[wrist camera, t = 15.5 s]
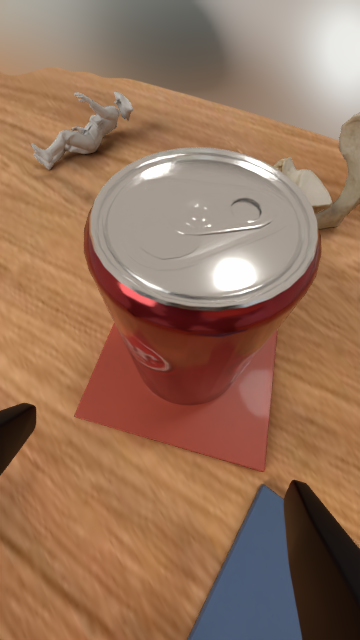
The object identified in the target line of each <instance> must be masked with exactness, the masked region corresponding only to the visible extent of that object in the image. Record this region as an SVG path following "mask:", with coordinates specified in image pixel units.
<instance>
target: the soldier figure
mask: <svg viewBox="0 0 360 640" xmlns="http://www.w3.org/2000/svg"><path fill="white" fill-rule="evenodd" d="M114 93H115V97H116V101H115V102H117V104H116V105H117V106H118V108H119V110H118V109H116V107H114V106H106V107H102V106H100V105H98V104H97V103H96V102H95V101H93V100H91V99H90V98H89V97H87V96H85V95H83V94H81V93H78V92H76V93H74V94H75V96H77V97H76V98H82V99H81V100H79V102H80V101H82V102H87V103H89V104H90V107H91V108H92V109H93V110H94V111H95V112H96V113H97V114H96V115H95V116H94V115H92V116H91V117H90V119H89V121H90V122H89V123H88V124H87V125H86V126H85V128H82V127H78V126H77V127H73V128H72V129H71V130H72V131H70V130H64V131H60V132H59V134H58V136H57V138H56V140H55V141H54V142H53V143H52V144H51V145H50V146H49V147H48V148H47V149H46V150H43V149H40V148H38V147H36V146H35V144H31V146H32V148H33V150H34V151H35V152H36V153H33V154H34V156H35V158H36V159H37V160H38V161H39V162H40V163H41V164H43V165H45V167H46V168H47V169H49V170H50V169H51V168H52V166H53V164H54V163H55V162H57V161H58V160H59V159H60V158H61V157H62V155H63V154H64V153H65V151H68V152H73V153H81V154H88V153H93V152H95V151H97V149H98V147H99V146H100V144H101V142H102V138H103V136H105V134H108V133H110V132H111V131H112V130H113V129H115V128H116V127H117V126H116V125H117V120H118V116H119V111H120V113H121V115H122V117H123V118H124V119H127V120H128V121H129V117H130V114H131V112H132V111H133V108H132V105H131V103H130V101H129V100H128V99H127V98H126V97H124V96H123V95H122V94H121V93H119V92H115V91H114ZM78 95H79V96H78ZM115 102H114V103H115ZM73 131H78V132H73ZM82 133H83V134H82Z"/></svg>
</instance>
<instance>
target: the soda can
mask: <svg viewBox="0 0 360 640" xmlns="http://www.w3.org/2000/svg"><path fill="white" fill-rule="evenodd" d="M84 254H85V258H86V261H87V265H88V269H89V271H90V273H91V275H92V277H93V279H94V281H95V283H96V286H97V288H98V290H99V292H100V294H101V296H102V298H103V300H104V302H105V304H106V306H107V308H108V311H109V313H110V315H111V317H112V319H113V321H114V323H115V325H116V327H117V329H118V331H119V333H120V336H121V338H122V340H123V342H124V344H125V346H126V348H127V350H128V352H129V354H130V356H131V358H132V361H133V363H134V365H135V367H136V369H137V371H138V373H139V375H140V377H141V378H142V380H143V382H144V383H145V385H146V386H147V387H148V388H149V389H150V390H151V391H152V392H153V393H155V394H156V395H157V396H159V397H160V398H162V399H164V400H166V401H168V402H170V403H175V404H179V405H191V406H193V405H199V404H205V403H207V402H210V401H212V400H215V399H216V398H218V397H219V396H221V395H222V394H224V393H225V392H226V391H227V390H228V389H229V388H230V387H231V386H232V384H233V383H234V382H235V381H236V379H237V378H238V377H239V376H240V374H241V373H242V372H243V371H244V370H245V368H246V367H247V366H248V365H249V363H250V362H251V361H252V360H253V358H254V357H255V356H256V355H257V353H258V352H259V351H260V350H261V349H262V347H263V346H264V345H265V344H266V342H267V341H268V340H269V339H270V337H271V336H272V335H273V334H274V333H275V331H276V330H277V329H278V328H279V326H280V325H281V324H282V323H283V321H284V320H285V319H286V318H287V316H288V315H289V314H290V313H291V312H292V310H293V309H294V308H295V307H296V305H297V304H298V303H299V302H300V300H301V299H302V298H303V297H304V295H305V294H306V293H307V291H308V289H309V288H310V286H311V284H312V282H313V281H314V279H315V277H316V275H317V271H318V267H319V262H320V258H321V235H320V232H319V229H318V223H317V220H316V217H315V214H314V210H313V207H312V206H311V204H310V202H309V200H308V199H307V197H306V195H305V194H304V192H303V191H302V190H301V189H300V188H299V187H298V186H297V185H296V184H295V183H294V182H293V181H292V180H291V179H290V178H289V177H287V176H286V175H285V174H283V173H282V172H281V171H279V170H278V169H276V168H274V167H272V166H271V165H269V164H267V163H265V162H263V161H261V160H258V159H256V158H253V157H251V156H248V155H245V154H241V153H237V152H233V151H229V150H222V149H215V148H195V147H193V148H181V149H173V150H168V151H163V152H158V153H155V154H152V155H149V156H146V157H143V158H141V159H139V160H137V161H135V162H133V163H131V164H129V165H127V166H126V167H124V168H123V169H122V170H120V171H119V172H117V173H116V174H115V175H113V176H112V178H111V179H110V180H109V181H108V182H107V183H106V184H105V185H104V186H103V187H102V189H101V191H100V192H99V194H98V196H97V198H96V199H95V201H94V203H93V206H92V208H91V210H90V211H89V214H88V217H87V221H86V224H85V228H84Z"/></svg>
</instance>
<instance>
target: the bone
mask: <svg viewBox="0 0 360 640" xmlns="http://www.w3.org/2000/svg"><path fill="white" fill-rule="evenodd" d="M339 150H340V152H341V153H342V155H343V157H344V159H345V160H346V162H347V167H348V176H347V180H346V185H345V187H344V189H343V191H342V193H341V195H340V196H339V198H338V199H337V200H336V201H335V202H334V203H333V204H332V199H331V197H330V195H329V192H328V190H327V189H326V188H325V186H324V185H323V184H322V182H321V181H320V179H319V178H318V177H317V176H316V175H315V174H314V173H313V172H312V171H310V170H307V169H303V170H297V169H295V166H294V163H293V161H292V158H291V157H289V158H287V159H284V158H283V159H281V160H280V161H278V162H277V163H276V164H275V165H274V166H273V167H274V168H276V169H278V170H279V171H281V172H282V173H283V174H285V175H286V176H287V177H289V178H290V179H291V180H292V181H293V182H294V183H295V184H296V185H297V186H298V187H299V188H300V189H301V190H302V191H303V192H304V194H305V195H306V197H307V199H308V200H309V202H310V204H311V206H312V207H313V210H314V214H315V217H316V220H317V223H318V229H323V228H329V227H337V226H338V225H339V224H340V223H341V222H342V220H343V219H344V217H345V216H346V215H347V214H349V213H350V211H351V210H352V209H353V208H355V207H356V206H357V205H359V204H360V113H358V114H356V115H354V116H353V117H352V118H351V119H350V120H348V121H347V122H346V123H344V124H343V125H342V127H341V134H340V137H339ZM323 209H325V210H323ZM321 210H323V211H321ZM319 211H321V212H319ZM317 212H319V213H317Z"/></svg>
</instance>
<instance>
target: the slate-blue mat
mask: <svg viewBox="0 0 360 640" xmlns="http://www.w3.org/2000/svg"><path fill="white" fill-rule="evenodd" d="M283 502H284V499H282V498H281V497H280V496H278V495H277V494H276V493H274V492H273V491H272V490H271V489H269V488H268V487H267V486H265V485H263V484H262V485H261V486H260V489H259V491H258V493H257V495H256V497H255V499H254V501H253V503H252V505H251V507H250V509H249V512H248V514H247V516H246V518H245V520H244V522H243V524H242V526H241V528H240V530H239V532H238V535H237V537H236V539H235V541H234V543H233V545H232V547H231V549H230V551H229V553H228V555H227V558H226V560H225V562H224V564H223V566H222V568H221V570H220V572H219V574H218V576H217V578H216V581H215V583H214V585H213V587H212V589H211V591H210V593H209V595H208V597H207V599H206V601H205V604H204V606H203V608H202V610H201V612H200V614H199V616H198V618H197V620H196V622H195V624H194V627H193V629H192V631H191V633H190V635H189V637H188V639H187V640H302V636H301V630H300V625H299V619H298V614H297V608H296V603H295V597H294V591H293V586H292V580H291V575H290V569H289V562H288V552H287V541H286V530H285V519H284V508H283Z"/></svg>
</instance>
